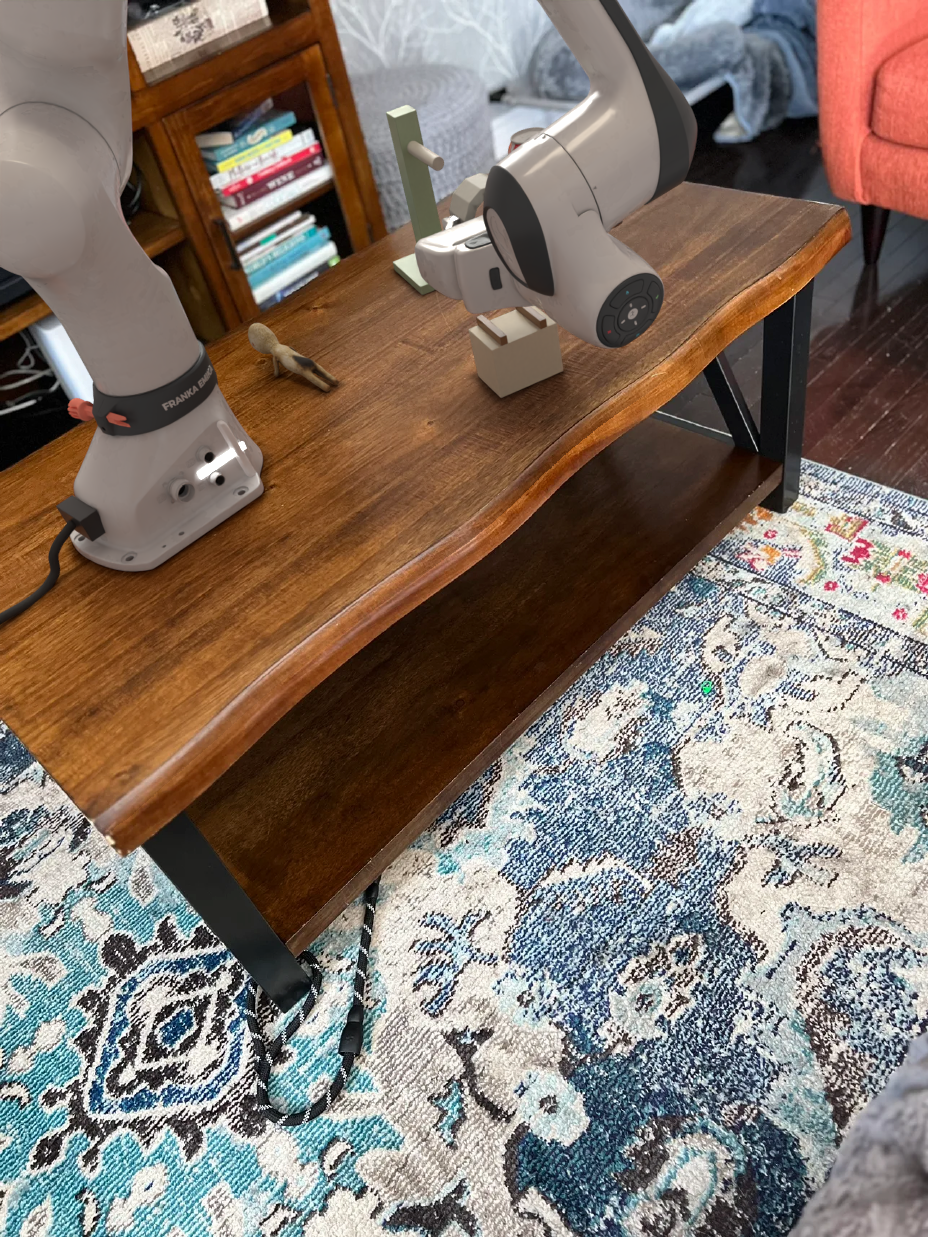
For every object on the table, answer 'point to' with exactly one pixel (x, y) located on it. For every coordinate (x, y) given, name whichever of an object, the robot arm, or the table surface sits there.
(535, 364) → the tape cradle
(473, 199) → the tape
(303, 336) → the table surface
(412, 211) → the hook stand
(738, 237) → the table surface
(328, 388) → the figurine
